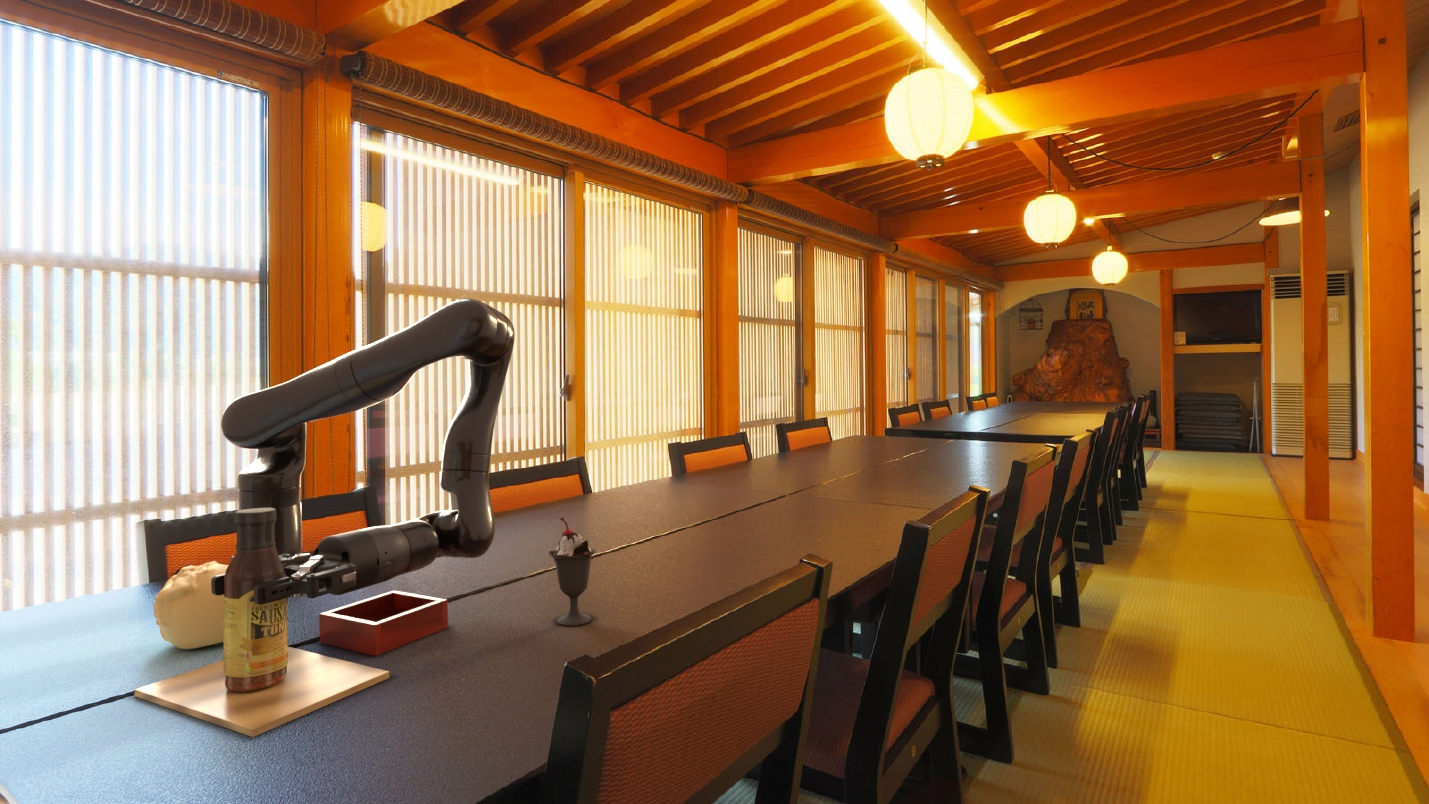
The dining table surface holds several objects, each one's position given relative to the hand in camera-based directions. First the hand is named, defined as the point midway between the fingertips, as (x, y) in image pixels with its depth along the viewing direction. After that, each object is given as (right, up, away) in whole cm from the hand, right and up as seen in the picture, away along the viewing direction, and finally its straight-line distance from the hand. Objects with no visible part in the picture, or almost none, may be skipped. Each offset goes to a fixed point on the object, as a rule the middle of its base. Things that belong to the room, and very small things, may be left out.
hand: (234, 590), depth 82 cm
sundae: (+33, -11, +25) cm, 43 cm away
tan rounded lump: (-15, -12, +18) cm, 27 cm away
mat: (+2, -12, +3) cm, 12 cm away
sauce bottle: (+1, -11, +2) cm, 12 cm away
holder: (+8, -11, +20) cm, 24 cm away
